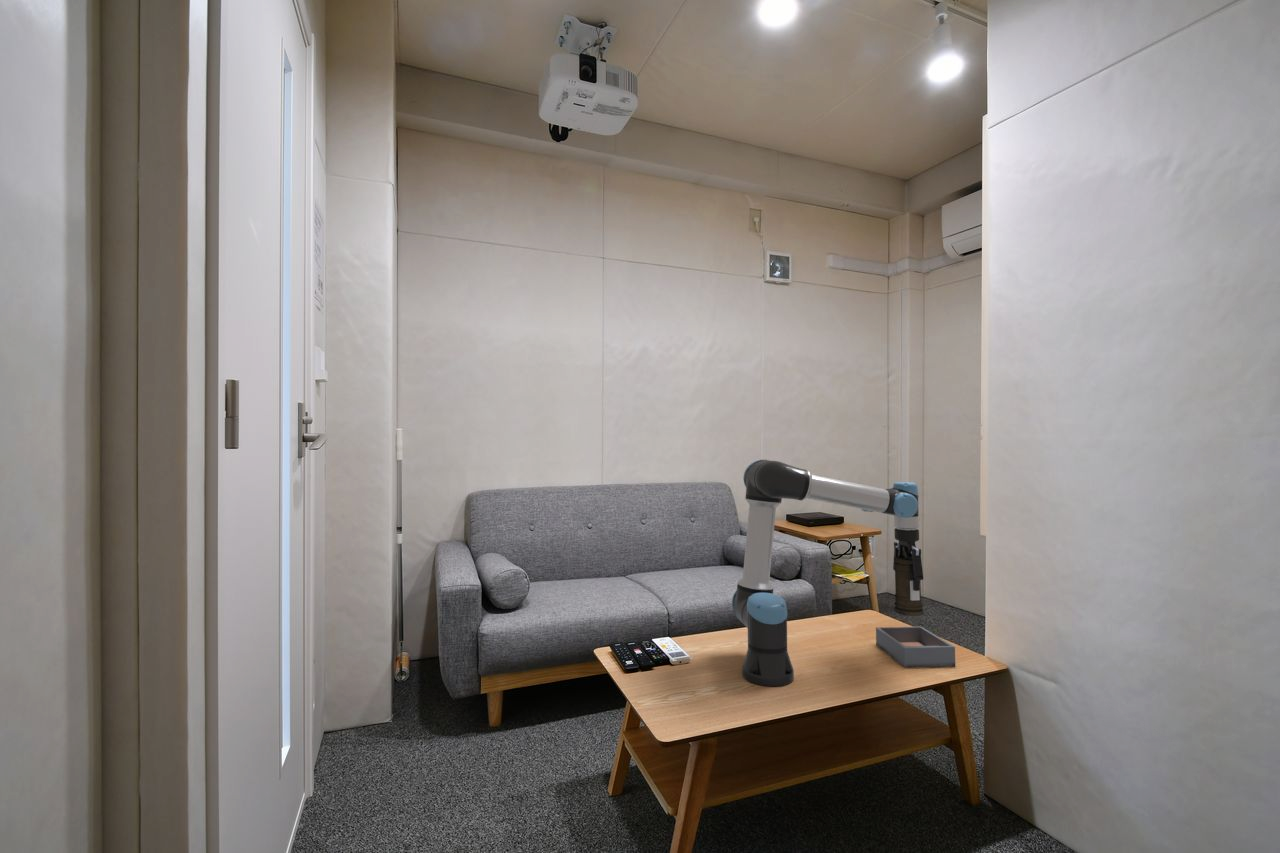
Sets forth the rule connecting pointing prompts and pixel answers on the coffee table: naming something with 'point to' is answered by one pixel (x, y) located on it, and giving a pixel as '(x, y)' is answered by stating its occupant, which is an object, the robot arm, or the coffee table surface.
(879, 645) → the walled box
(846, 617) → the coffee table surface
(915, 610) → the container
